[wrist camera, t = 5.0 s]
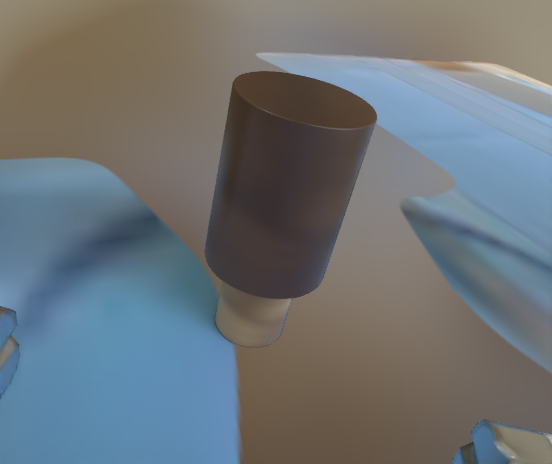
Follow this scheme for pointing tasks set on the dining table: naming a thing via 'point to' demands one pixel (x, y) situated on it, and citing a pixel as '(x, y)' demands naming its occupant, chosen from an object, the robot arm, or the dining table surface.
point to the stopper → (280, 196)
